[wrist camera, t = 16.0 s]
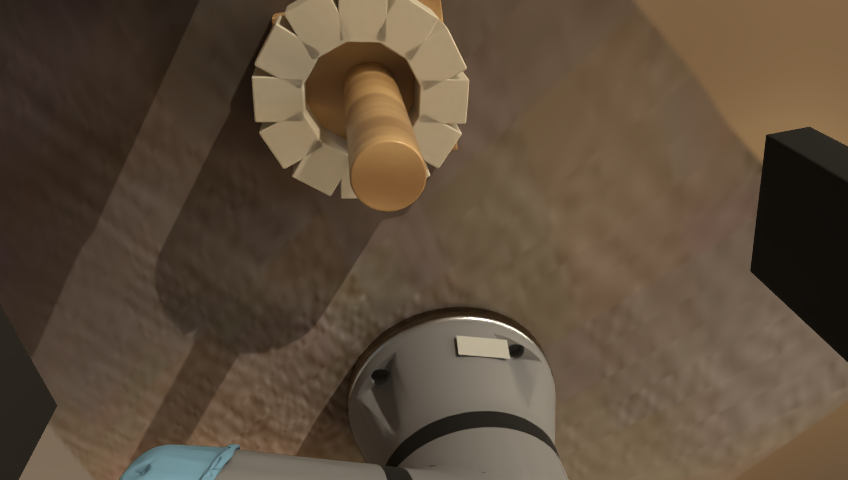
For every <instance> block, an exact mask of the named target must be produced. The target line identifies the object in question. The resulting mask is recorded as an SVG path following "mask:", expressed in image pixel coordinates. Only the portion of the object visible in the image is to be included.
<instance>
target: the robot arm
mask: <svg viewBox="0 0 848 480" xmlns="http://www.w3.org/2000/svg"><path fill="white" fill-rule="evenodd" d="M750 271H751V272H752V273H753V274H754V275H755V276H756V277H757V278H758V279H759V280H760V281H761V282H762V283H764V284H765V285H766V286H767V287H768V288H769V289H770V290H771V291H772V292H773V293H774V294H775V295H776V296H777V297H779V298H780V299H781V300H782V301H783V302H784V303H785V304H786V305H787V306H788V307H789V308H790V309H791V310H792V311H794V312H795V313H796V314H797V315H798V316H799V317H800V318H801V319H802V320H803V321H804V322H805V323H806V324H807V325H808V326H810V327H811V328H812V329H813V330H814V331H815V332H816V333H817V334H818V335H819V336H820V337H821V338H822V339H823V340H825V341H826V342H827V343H828V344H829V345H830V346H831V347H832V348H833V349H834V350H835V351H836V352H837V353H838V354H839V355H841V356H842V357H843V358H844V359H845V360H846V361H847V362H848V146H846V145H844V144H842V143H840V142H838V141H836V140H834V139H832V138H830V137H829V136H826V135H825V134H823V133H821V132H819V131H817V130H815V129H813V128H811V127H806V128H801V129H795V130H790V131H784V132H779V133H774V134H768V135H766V142H765V150H764V159H763V167H762V176H761V184H760V193H759V201H758V210H757V218H756V227H755V235H754V244H753V253H752V261H751V270H750ZM56 407H57V405H56V403H55V401H54V399H53V397H52V396H51V394H50V392H49V390H48V389H47V387H46V385H45V383H44V382H43V380H42V378H41V376H40V374H39V373H38V371H37V369H36V367H35V366H34V364H33V362H32V360H31V359H30V357H29V355H28V353H27V351H26V350H25V348H24V346H23V344H22V343H21V341H20V339H19V337H18V336H17V334H16V332H15V330H14V328H13V327H12V325H11V323H10V321H9V320H8V318H7V316H6V314H5V313H4V311H3V309H2V307H1V305H0V480H19V478H20V476H21V474H22V472H23V470H24V468H25V466H26V464H27V462H28V461H29V459H30V457H31V455H32V453H33V451H34V449H35V447H36V445H37V443H38V441H39V439H40V438H41V435H42V434H43V432H44V430H45V428H46V426H47V424H48V422H49V420H50V418H51V416H52V415H53V413H54V411H55V409H56ZM348 418H349V423H350V428H351V431H352V434H353V436H354V439H355V441H356V444H357V445H358V447H359V449H360V451H361V453H362V455H363V457H364V459H365V461H366V463H359V462H349V461H339V460H329V459H319V458H309V457H299V456H289V455H281V454H273V453H264V452H256V451H247V450H239V449H240V445H236V444H230V445H228V446H227V447H209V446H191V445H174V444H172V445H162V446H158V447H155V448H152V449H150V450H148V451H146V452H145V453H143V454H142V455H140V456H139V457H138V458H137V459H136V460H134V461H133V462H132V464H131V465H130V466H129V467H128V468H127V469H126V471H125V472H124V473H123V475H122V476H121V478H120V479H119V480H569V479H568V477H567V474H566V472H565V470H564V467H563V465H562V463H561V460H560V458H559V455H558V453H557V450H556V448H555V386H554V378H553V374H552V371H551V368H550V366H549V363H548V361H547V359H546V357H545V355H544V352H543V350H542V349H541V347H540V345H539V343H538V342H537V341H536V339H535V338H534V337H533V336H532V335H531V333H530V332H529V331H527V330H526V329H525V328H524V327H523V326H521V325H520V324H518V323H517V322H515V321H514V320H512V319H510V318H508V317H506V316H504V315H501V314H499V313H495V312H492V311H489V310H484V309H478V308H469V307H453V308H443V309H437V310H432V311H428V312H424V313H421V314H418V315H415V316H413V317H410V318H408V319H406V320H404V321H402V322H400V323H398V324H396V325H394V326H393V327H391V328H389V329H388V330H387V331H385V332H384V333H383V334H381V335H380V336H379V337H378V338H377V339H375V340H374V341H373V342H372V343H371V344H370V345H369V347H368V348H367V349H366V350H365V351H364V353H363V354H362V355H361V357H360V358H359V360H358V362H357V363H356V365H355V367H354V370H353V372H352V375H351V378H350V381H349V386H348Z"/></svg>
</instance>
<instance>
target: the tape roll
mask: <svg viewBox="0 0 848 480" xmlns="http://www.w3.org/2000/svg"><path fill="white" fill-rule="evenodd" d="M284 16H285V17H286V18H284V17H282V16H281V15H279V16H278V17H277V19H276V21H275V23H274V25H273V27H272V29H271V31H270V33H269V34H268V36H267V38H266V40H265V42H264V44H263V46H262V48H261V50H260V52H259V54H258V56H257V59H256V61H255V63H254V65H255V66H256V68H255V70H254V73H253V75H252V78H251V79H252V92H253V106H254V119H255V122H262V124H261V128H260V131H259V134H260V136H261V137H262V139H263V140H264V141H265V143H266V144H267V146H268V147H269V149H270V150H271V152H272V153H273V155H274V156H275V157H276V159H277V160H278V162H279V163H280V165H281V166H282V168H283V169H286V168H287V167H289V166H291V165H293V164H294V166H293V174H292V177H293V178H295V179H297V180H299V181H301V182H303V183H305V184H307V185H309V186H311V187H313V188H315V189H317V190H319V191H321V192H323V193H325V194H327V195H329V196H331V195H332V193H333V192H334V190H335V189H336V187H337V185H338V184H339V182H340V190H341V198H342V199H355V198H357V197H356V195H355V194H354V192H353V190H352V188H351V184H350V177H349V163H348V149H347V140H346V139H344V138H342V137H340V136H339V135H337V134H335V133H333V132H331V131H330V130H328V129H326V128H324V127H322V126H321V124H320V123H319V121H318V120H317V118H316V116H315V115H314V113H313V112H312V110H311V109H310V107H309V105H308V104H307V102H306V80H307V78H308V76H309V75H310V73H311V71H312V69H313V67H314V66H315V64H316V62H317V60H318V58H319V57H321V56H323V55H325V54H326V53H328V52H330V51H332V50H333V49H335V48H337V47H339V46H340V45H342V44H344V43H346V42H373V43H380V44H382V45H384V46H385V47H387V48H389V49H390V50H392V51H393V52H395V53H397V54H398V55H400V56H401V57H403V58H405V59H406V61H407V63H408V65H409V66H410V68H411V70H412V72H413V74H414V76H415V80H414V104H413V105H412V107H411V108H410V110H409V111H408V113H407V114H408V116H409V119H410V122H411V125H412V128H413V131H414V134H415V136H416V139H417V142H418V145H419V148H420V151H421V154H422V157H423V159H424V162H425V165H426V170H427V178H428V177H429V176H430V173H429V170H428V167H427V164H426V162H427V163H429V164H431V165H432V166H434V167H436V168H439V167H440V166H441V164H442V163H443V161H444V160H445V158H446V157H447V155H448V154H449V152H450V151H451V149H452V148H453V146H454V145H455V143H456V142H457V140H458V139H459V137H460V136H461V134H462V133H461V132H460V130H459V128H458V126H457V124H465V123H466V116H467V103H468V90H469V79H468V78H467V77H466V75H465V74H464V72H463V71H464V70H466V69H467V67H466V65H465V63H464V61H463V59H462V57H461V55H460V53H459V51H458V49H457V46H456V44H455V42H454V40H453V38H452V36H451V34H450V32H449V30H448V28H447V27H446V26H445V25H444V23H443V22H442V21H441V20H439V18H438V17H437V16H436V14H435V13H434V12H433V11H432V10H431V9H430V8H428V7H427V6H425V5H424V4H422V3H421V2H419V1H418V0H338V3H337V1H336V0H297V1H295V2H293V3H291V4H290V5H288V6H287V8H286V11H285V13H284Z"/></svg>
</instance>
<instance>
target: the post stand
mask: <svg viewBox="0 0 848 480" xmlns="http://www.w3.org/2000/svg"><path fill="white" fill-rule="evenodd" d="M418 1H419V2H421V3H422V4H424V5H425V6H427V7H428V8H430V9H431V10H432V11H433V12H434V13H435V14H436V16H437V17H438V18H439V20H441V21H442V22H443V16H442V8H441V0H418ZM284 13H285V12H282V13H275V14H273V16H272V19H271V21H272V25H274V23H275V21H276V19H277V17H278V16H279V15H281V16H282V17H284V18H286V17H285V16H284ZM414 80H415V76H414V74H413V72H412V70H411V68H410V66H409V65H408V63H407V61H406V59H405V58H403V57H401V56H400V55H398V54H397V53H395V52H393V51H392V50H390V49H389V48H387V47H385V46H384V45H382V44H380V43H373V42H346V43H344V44H342V45H340V46H339V47H337V48H335V49H333V50H332V51H330V52H328V53H326V54H325V55H323V56H321V57H319V58H318V60H317V62H316V64H315V66H314V67H313V69H312V71H311V73H310V75H309V76H308V78H307V80H306V102H307V104H308V105H309V107H310V109H311V110H312V112H313V113H314V115H315V116H316V118H317V120H318V121H319V123H320V124H321V126H322V127H324V128H326V129H328V130H330V131H331V132H333V133H335V134H337V135H339V136H340V137H342V138H344V139H346V140H347V149H348V163H349V177H350V184H351V188H352V190H353V192H354V194H355V195H356V197H357V198H358V199H359V200H360V201H361V202H362V203H363V204H365V205H366V206H368V207H370V208H372V209H375V210H378V211H396V210H400V209H403V208H405V207H407V206H409V205H410V204H412V203H413V202H414V201H415V200H416V199H417V198H418V197H419V196H420V194H421V193H422V191H423V189H424V187H425V184H426V179H427V170H426V165H425V162H424V159H423V157H422V154H421V151H420V148H419V145H418V142H417V139H416V136H415V134H414V131H413V128H412V125H411V122H410V119H409V116H408V114H407V113H408V111H409V110H410V108H411V107H412V105H413V104H414ZM453 150H457V142H456V143H455V145H454V146H453V148H452V149H451V151H453Z"/></svg>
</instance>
